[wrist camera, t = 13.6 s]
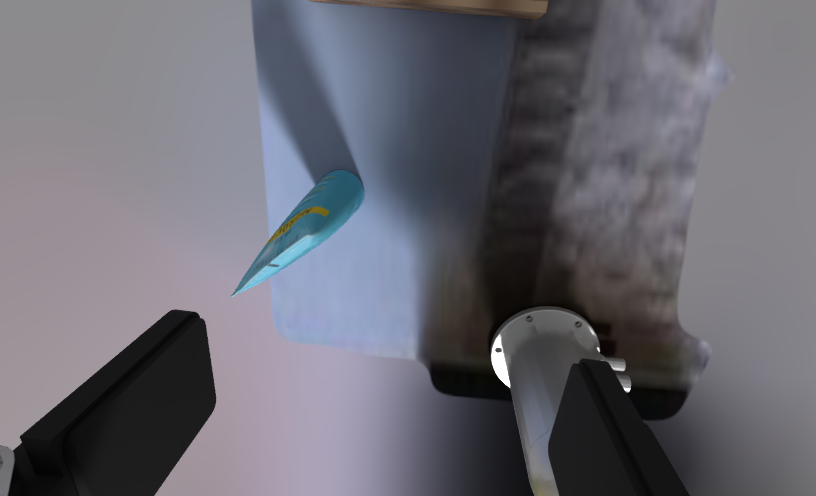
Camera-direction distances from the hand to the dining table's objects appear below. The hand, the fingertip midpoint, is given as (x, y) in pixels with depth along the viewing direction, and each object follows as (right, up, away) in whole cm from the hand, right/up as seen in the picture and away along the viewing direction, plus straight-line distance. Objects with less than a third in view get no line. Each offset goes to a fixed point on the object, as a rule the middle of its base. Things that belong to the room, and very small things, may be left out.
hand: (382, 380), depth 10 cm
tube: (-7, +10, +33) cm, 35 cm away
